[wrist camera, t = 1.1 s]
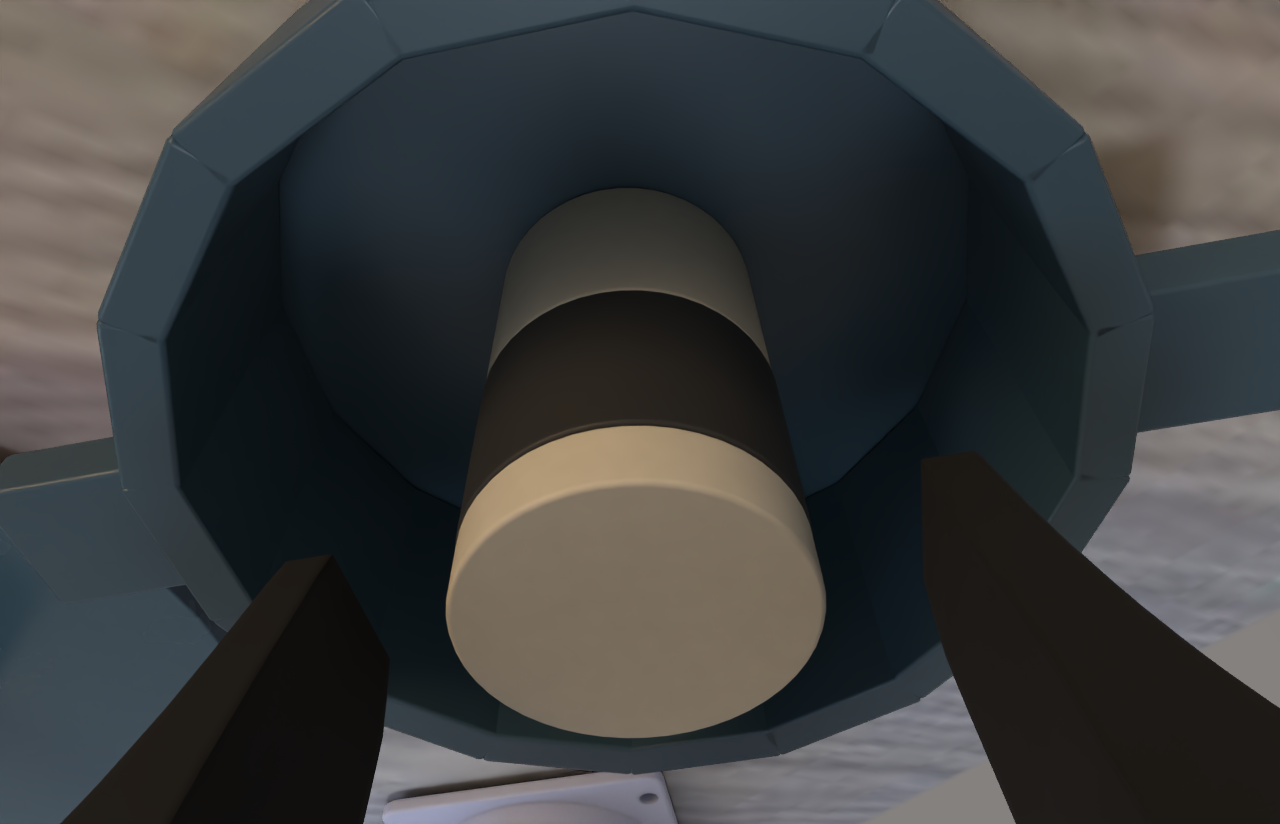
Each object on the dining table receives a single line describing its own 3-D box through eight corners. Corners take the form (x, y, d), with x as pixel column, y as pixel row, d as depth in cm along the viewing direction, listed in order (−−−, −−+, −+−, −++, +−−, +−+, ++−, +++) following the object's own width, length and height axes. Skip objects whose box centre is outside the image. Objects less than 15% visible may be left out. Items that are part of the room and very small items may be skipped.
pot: (1118, 480, 21) (1259, 692, 16) (286, 611, 22) (206, 834, 18) (1229, -286, 13) (1569, -285, 8) (-82, 11, 14) (-392, 146, 10)
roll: (763, 380, 18) (842, 715, 12) (537, 419, 19) (503, 761, 12) (733, 161, 15) (813, 448, 9) (471, 212, 16) (387, 518, 10)
